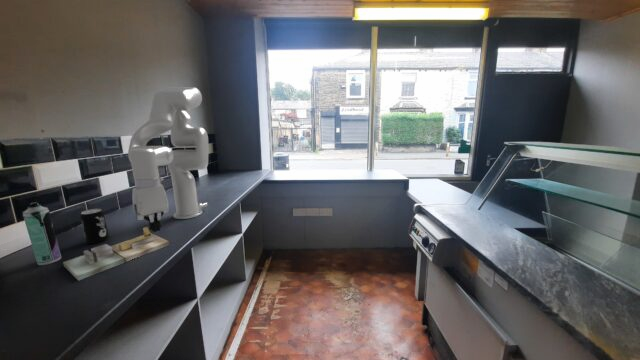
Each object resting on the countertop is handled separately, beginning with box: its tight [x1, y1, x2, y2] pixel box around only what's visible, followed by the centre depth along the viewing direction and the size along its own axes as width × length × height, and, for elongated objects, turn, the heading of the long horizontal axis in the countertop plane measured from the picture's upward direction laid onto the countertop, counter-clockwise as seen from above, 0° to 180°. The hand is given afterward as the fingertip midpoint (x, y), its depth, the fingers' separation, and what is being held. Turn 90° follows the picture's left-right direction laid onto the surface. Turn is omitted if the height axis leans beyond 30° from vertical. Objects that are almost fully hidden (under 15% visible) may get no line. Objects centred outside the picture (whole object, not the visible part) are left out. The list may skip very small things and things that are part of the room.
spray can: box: [22, 201, 62, 266], centre depth 80 cm, size 6×6×20 cm
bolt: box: [117, 226, 155, 251], centre depth 89 cm, size 10×2×5 cm, turn 147°
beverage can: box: [80, 208, 110, 245], centre depth 95 cm, size 7×7×12 cm
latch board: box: [62, 232, 170, 282], centre depth 85 cm, size 25×14×5 cm, turn 147°
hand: (155, 230), depth 94 cm, fingers closed
